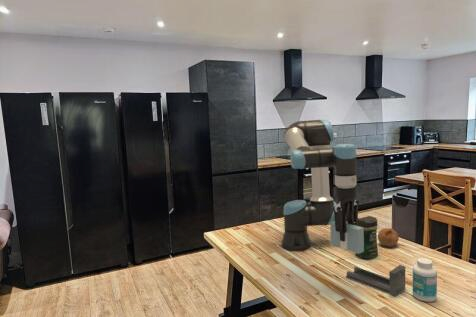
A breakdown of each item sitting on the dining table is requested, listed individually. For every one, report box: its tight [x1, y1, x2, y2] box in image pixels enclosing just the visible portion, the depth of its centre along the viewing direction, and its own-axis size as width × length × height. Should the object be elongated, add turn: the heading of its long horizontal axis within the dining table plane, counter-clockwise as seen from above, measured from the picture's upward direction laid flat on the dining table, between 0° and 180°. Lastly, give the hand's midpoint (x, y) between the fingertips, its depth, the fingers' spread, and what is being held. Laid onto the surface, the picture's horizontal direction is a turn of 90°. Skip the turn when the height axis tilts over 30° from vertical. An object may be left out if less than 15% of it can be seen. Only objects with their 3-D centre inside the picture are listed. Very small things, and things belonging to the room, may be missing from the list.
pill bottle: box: [412, 257, 438, 303], centre depth 112 cm, size 8×7×14 cm
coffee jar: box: [355, 215, 379, 260], centre depth 148 cm, size 10×8×19 cm
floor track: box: [345, 264, 406, 297], centre depth 124 cm, size 20×8×9 cm, turn 38°
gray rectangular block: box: [329, 221, 364, 254], centre depth 119 cm, size 12×3×9 cm, turn 37°
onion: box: [377, 227, 400, 248], centre depth 158 cm, size 10×9×10 cm
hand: (347, 247), depth 119 cm, fingers closed on gray rectangular block, 3 cm apart
